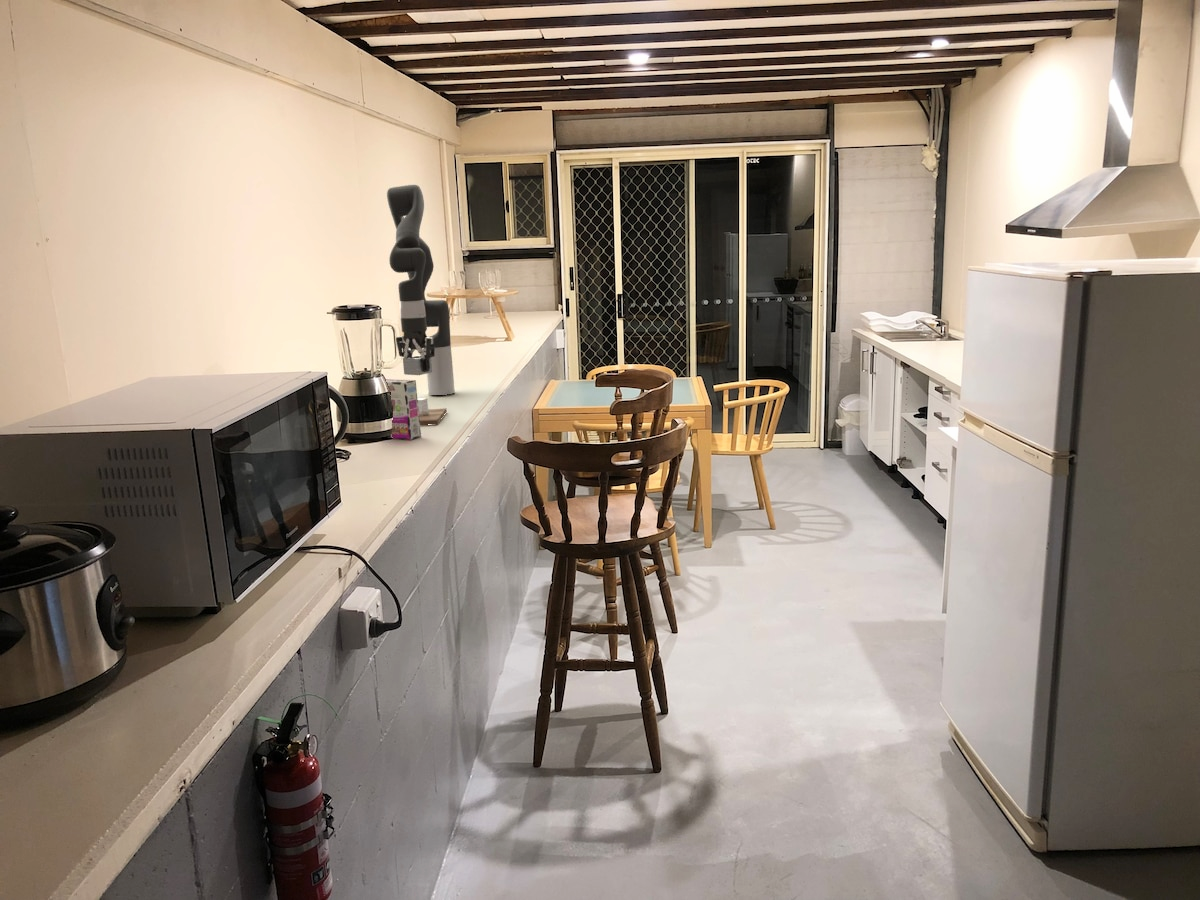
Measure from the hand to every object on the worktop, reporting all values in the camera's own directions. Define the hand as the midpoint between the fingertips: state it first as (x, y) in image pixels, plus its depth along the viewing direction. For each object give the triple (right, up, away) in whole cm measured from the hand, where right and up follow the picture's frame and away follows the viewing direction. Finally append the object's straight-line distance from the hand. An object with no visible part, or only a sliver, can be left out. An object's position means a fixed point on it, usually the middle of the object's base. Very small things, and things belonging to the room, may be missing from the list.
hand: (418, 370), depth 275 cm
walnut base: (+1, -15, +4) cm, 15 cm away
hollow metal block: (0, -1, 0) cm, 1 cm away
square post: (+1, -14, +3) cm, 14 cm away
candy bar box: (-1, -21, -19) cm, 28 cm away
